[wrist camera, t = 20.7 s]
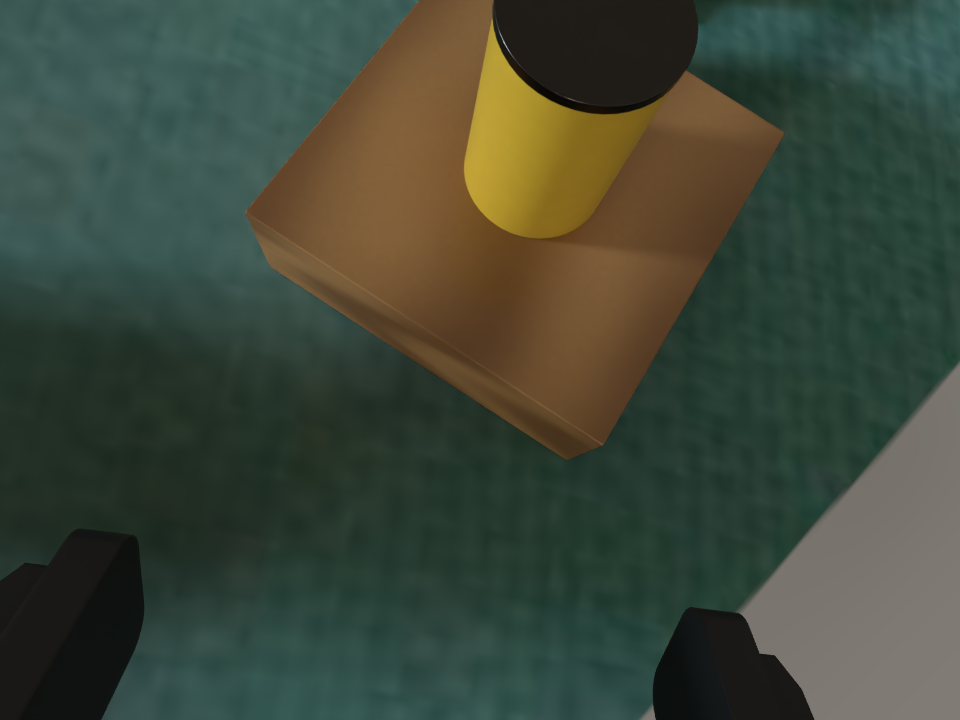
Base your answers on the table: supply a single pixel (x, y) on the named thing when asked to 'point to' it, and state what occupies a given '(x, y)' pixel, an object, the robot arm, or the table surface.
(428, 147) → the wood block
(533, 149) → the tin
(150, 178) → the table surface
